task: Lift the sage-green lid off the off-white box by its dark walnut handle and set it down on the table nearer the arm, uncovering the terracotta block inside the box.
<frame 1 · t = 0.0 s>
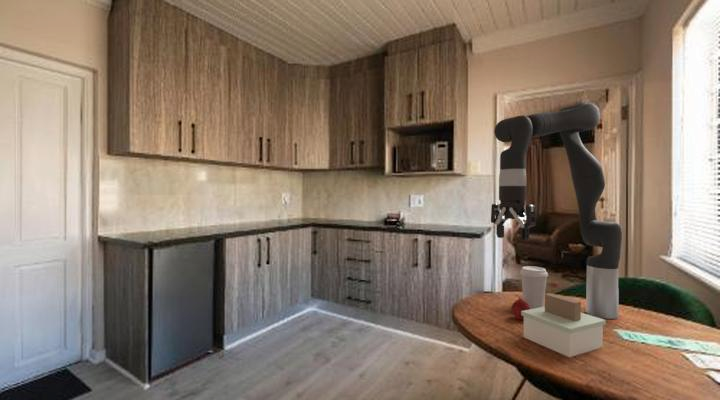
hand: (511, 239, 104), 29 cm above the table, tool pointing down, fingers open, 8 cm apart
onion: (520, 321, 118), on the table
coffee cup: (533, 308, 131), on the table
lid: (561, 319, 99), point 7 cm above the table, touching box
box: (561, 344, 99), on the table
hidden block: (561, 341, 99), point 1 cm above the table, touching box
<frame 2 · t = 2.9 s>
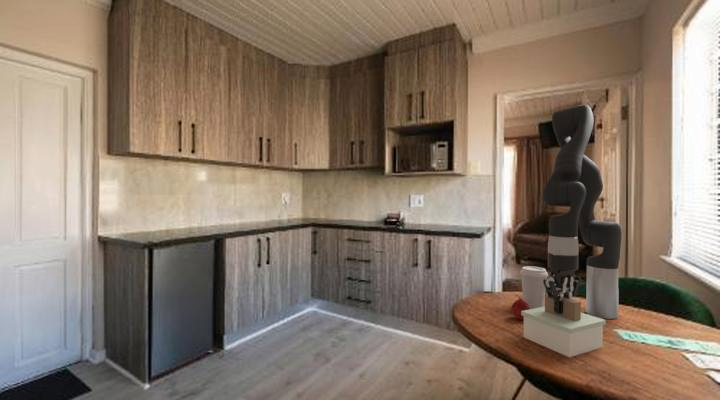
hand: (562, 312, 99), 9 cm above the table, tool pointing down, fingers closed on lid, 2 cm apart
lid: (562, 319, 99), point 7 cm above the table, touching box, gripper
everything else where it was.
when the fingers open (5 cm above the table, at t = 9.1 s): lid drops 2 cm, point 1 cm above the table.
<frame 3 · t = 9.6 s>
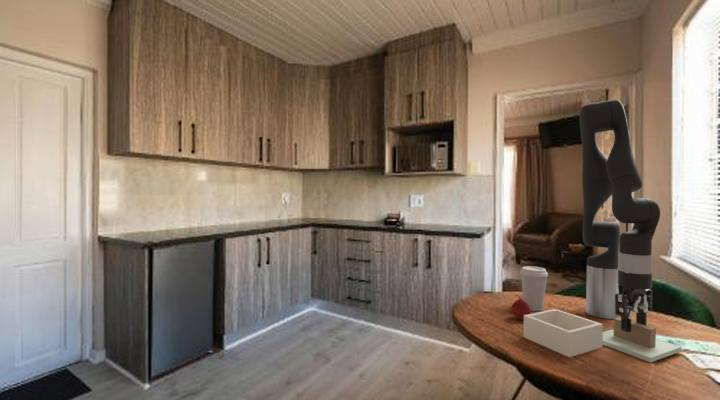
hand: (633, 328, 97), 5 cm above the table, tool pointing down, fingers open, 7 cm apart
lid: (633, 345, 97), point 1 cm above the table
everything else where it was.
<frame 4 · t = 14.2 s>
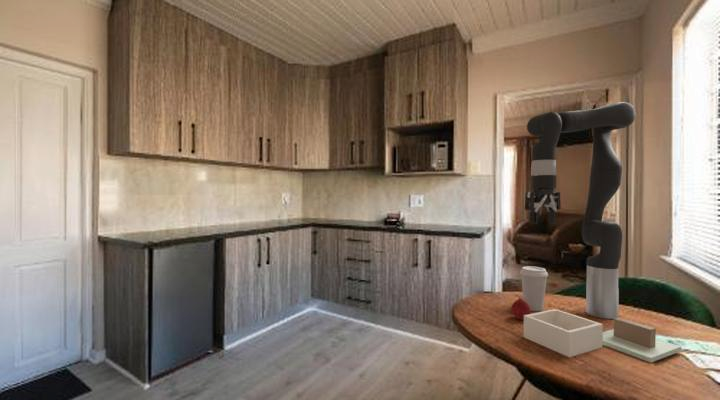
hand: (542, 223, 116), 33 cm above the table, tool pointing down, fingers open, 8 cm apart
nothing on the table moved.
at the end: lid inside the target area (0.1 cm from its centre), point 0.7 cm above the table; the gripper is holding nothing; lid tilted 0° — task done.
